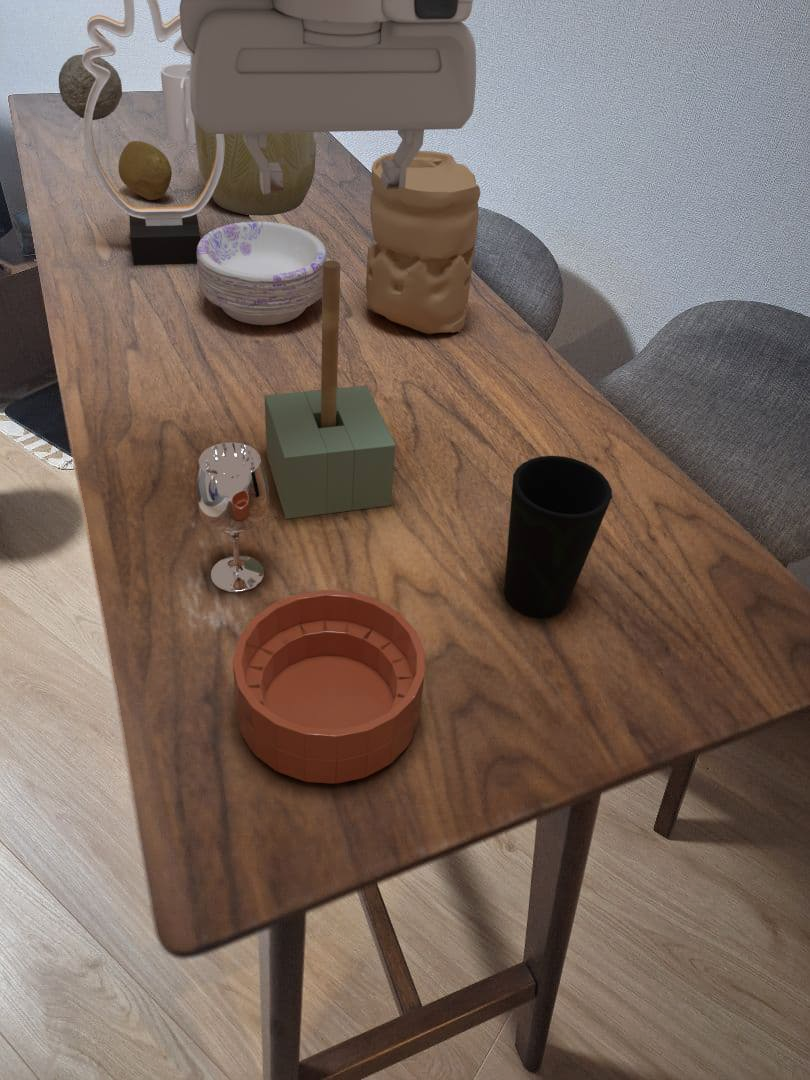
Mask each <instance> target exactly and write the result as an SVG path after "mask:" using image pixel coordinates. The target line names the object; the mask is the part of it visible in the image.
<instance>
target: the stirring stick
mask: <svg viewBox="0 0 810 1080" xmlns="http://www.w3.org/2000/svg"><path fill="white" fill-rule="evenodd" d="M340 293H341V263H340V262H339V261H336V260H326V262H324V263H323V295H322V306H321V308H322V310H321V311H322V312H321V313H322V314H321V315H322V317H321V368H320V369H321V370H320V371H321V373H320V374H321V375H320V378H321V379H320V380H321V381H320V390H321V428H326V427H336V407H337V388H338V371H339V370H338V368H339V367H338V365H339V332H340V331H339V329H340V300H341V299H340Z"/></svg>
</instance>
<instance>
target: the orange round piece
mask: <svg viewBox="0 0 810 1080" xmlns="http://www.w3.org/2000/svg"><path fill="white" fill-rule="evenodd" d="M232 667H233V668H232V670H233V671H232V672H233V683H234V694H235V695H234V696H235V708H236V715H237V719H238V726H239V730H240V731H239V732H240V734H241V737H243V739H244V741H245V742H246V743H247V746H249V748H250V750H251V751H252V753H253V754H254V755H255V756H256V757H257V758H259V759H260V760H261V761H262V762H264V763H265V764H266V765H267V766H269V767H270V768H271V769H273V770H274V771H276V772H277V773H280V774H283V775H285V776H288V777H291V778H294V779H296V780H300V781H303V782H306V783H319V784H341V783H346V782H350V781H355V780H361V779H364V778H367V777H369V776H371V775H372V774H374V773H376V772H378V771H380V770H382V769H383V768H385V767H387V766H389V765H391V764H392V763H393V762H394V761H395V760H396V759H397V758H398V757H399V756H400V755H401V753H403V752H404V751H405V750H406V748H407V747H408V746H409V745H410V743H411V742H412V741H411V740H412V739H413V737H414V734H415V731H416V729H417V727H418V725H419V720H420V712H421V705H422V697H423V692H424V691H423V690H424V681H425V675H426V653H425V649H424V646H423V644H422V642H421V639H420V637H419V634H418V632H417V631H416V629H415V628H414V627H413V626H412V625H411V624H410V622H409V621H408V620H407V619H406V618H405V617H404V615H402V613H400V612H399V611H397V610H395V609H394V608H393V607H391V606H389V605H387V604H386V603H384V602H382V601H381V600H379V599H377V598H374V597H371V596H367V595H364V594H362V593H357V592H354V591H348V590H335V589H334V590H332V589H321V590H313V591H306V592H300V593H296V594H293V595H290V596H288V597H286V598H283V599H281V600H279V601H276V602H274V603H272V604H270V605H269V606H267V607H266V608H265V609H264V610H262V611H261V612H260V613H258V614H257V615H256V616H254V617H253V618H252V619H251V620H250V621H249V623H248V624H247V625H246V627H245V629H244V630H243V632H242V633H241V634H240V636H239V637H238V639H237V642H236V647H235V651H234V655H233V660H232Z"/></svg>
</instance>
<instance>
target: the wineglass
mask: <svg viewBox="0 0 810 1080" xmlns="http://www.w3.org/2000/svg"><path fill="white" fill-rule="evenodd" d="M196 467H197V468H196V472H195V478H194V479H195V480H194V487H193V489H194V490H193V491H194V492H193V493H194V502H195V506H196V510H197V513H198V515H199V516H200V518H201V519H202V521H203V522H204V523H205V524H206V525H207V526H209V527H210V528H211V529H213V530H215V531H218V532H221V533H226V534H228V537H229V540H230V542H231V545H232V553H233V555H230V556H226V557H224V558H222V559H220V560H218V561H217V562H216V563H215V564H214V565H213V567H212V568H211V571H210V579H211V582H212V583H213V584H214V586H215V587H217V588H218V589H220V590H222V591H225V592H228V593H243V592H247V591H251V590H252V589H254V588H256V587H257V586H258V585H260V583H261V582H262V581H263V579H264V576H265V569H264V567H263V565H262V564H261V562H260V561H258V560H257V559H255V558H254V557H251V556H249V555H240V549H239V548H240V541H241V537H242V533H244V532H246V531H250V530H251V529H253V528H255V527H256V526H257V525H258V524H259V523H260V522H261V521H262V520H263V519H264V517H265V516H266V514H267V511H268V508H269V501H270V486H269V480H268V476H267V472H266V469H265V467H264V464H263V461H262V458H261V455H260V453H259V452H258V451H257V450H256V449H255V448H253V447H252V446H250V445H248V444H245V443H241V442H230V441H229V442H221V443H217V444H214V445H212V446H209V447H208V448H206V449H205V450H204V451H202V453H201V454H200V456H199V458H198V463H197V466H196Z"/></svg>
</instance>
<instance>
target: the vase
mask: <svg viewBox="0 0 810 1080" xmlns="http://www.w3.org/2000/svg"><path fill="white" fill-rule="evenodd" d="M194 125H195V139H196V143H195V151H196V158H197V165H198V170H199V174H200V178H201V180H202V183H203V184H204V185H203V186H204V187H205V186H206V184H207V182H208V180H209V178H210V175H211V172H212V169H213V166H214V162H215V155H216V134H208V133H206V132H205V131H204V130H203V129H202V128H201V127H200V125H199V124H198V123H197V122H196V121H195V119H194ZM224 142H225V152H224V162H223V168H222V172H221V175H220V178H219V181H218V184H217V186H216V189H215V191H214V193H213V194H212V196H211V198H212V200H213V202H214V203H215V204H216V205H217V206H219V207H221V208H222V209H224V210H227V211H229V212H232V213H236V214H240V215H246V216H258V217H259V216H261V217H262V216H263V217H264V216H274V215H275V216H276V215H281V214H285V213H288V212H291V211H293V210H295V209H297V208H298V207H300V206H301V205H302V204H303V202H304V200H305V198H306V196H307V195H308V193H309V191H310V189H311V187H312V184H313V180H314V177H315V172H316V171H315V170H316V156H317V155H316V154H317V153H316V151H317V132H294V133H267V147H266V148H260V147H259V148H260V150H261V152H262V153H263V155H264V157H265V159H266V160H267V162H268V163H279V165H280V168H281V169H282V171H283V181H282V185H283V193H278V194H263V193H262V190H261V187H260V173H259V167H258V165H257V163H256V162H255V160H254V158H253V157H252V155H251V154H250V152H249V150H248V149H247V146H246V144H245V142H244V140H243V134H224Z"/></svg>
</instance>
